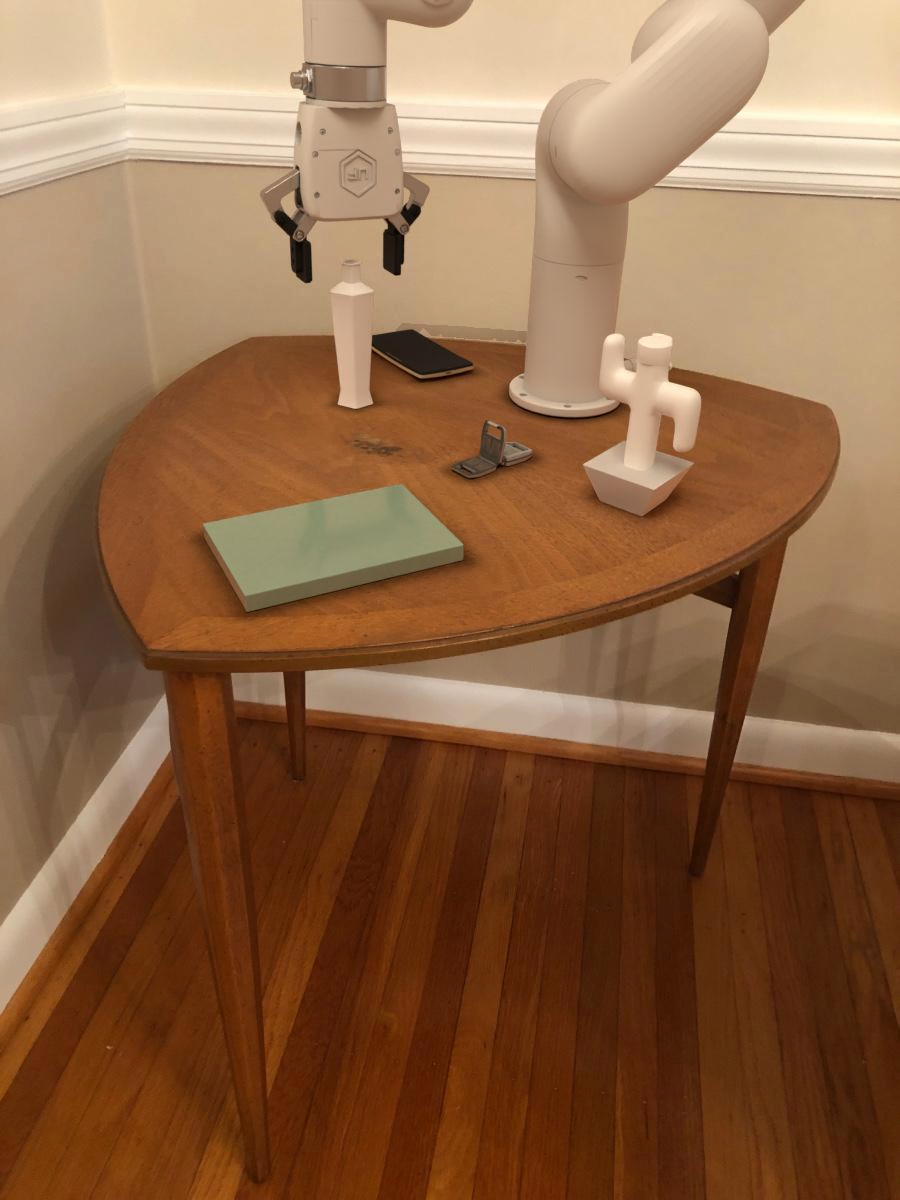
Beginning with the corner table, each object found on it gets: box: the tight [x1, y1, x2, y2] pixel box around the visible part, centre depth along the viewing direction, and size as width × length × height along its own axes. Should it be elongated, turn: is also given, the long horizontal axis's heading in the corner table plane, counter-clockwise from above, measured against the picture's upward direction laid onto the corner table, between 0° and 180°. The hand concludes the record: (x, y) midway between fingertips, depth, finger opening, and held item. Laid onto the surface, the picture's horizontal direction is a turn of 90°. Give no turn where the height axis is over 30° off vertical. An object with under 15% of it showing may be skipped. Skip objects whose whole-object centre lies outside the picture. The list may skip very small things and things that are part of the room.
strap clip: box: [451, 419, 533, 479], centre depth 90 cm, size 8×3×4 cm, turn 130°
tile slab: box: [202, 483, 465, 613], centre depth 77 cm, size 18×12×2 cm, turn 117°
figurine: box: [581, 332, 702, 517], centre depth 82 cm, size 7×9×15 cm
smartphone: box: [371, 328, 474, 379], centre depth 116 cm, size 7×1×15 cm
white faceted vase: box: [328, 259, 375, 410], centre depth 100 cm, size 5×4×15 cm
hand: (348, 276), depth 96 cm, fingers open, 9 cm apart
